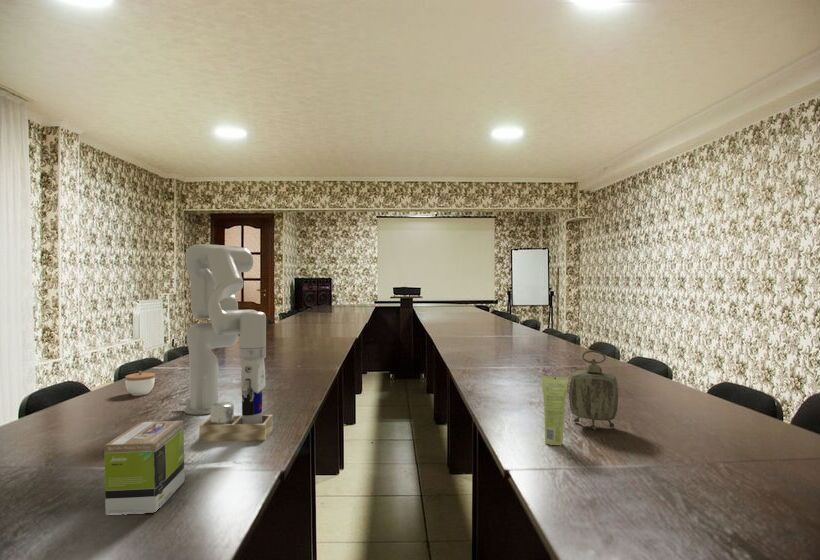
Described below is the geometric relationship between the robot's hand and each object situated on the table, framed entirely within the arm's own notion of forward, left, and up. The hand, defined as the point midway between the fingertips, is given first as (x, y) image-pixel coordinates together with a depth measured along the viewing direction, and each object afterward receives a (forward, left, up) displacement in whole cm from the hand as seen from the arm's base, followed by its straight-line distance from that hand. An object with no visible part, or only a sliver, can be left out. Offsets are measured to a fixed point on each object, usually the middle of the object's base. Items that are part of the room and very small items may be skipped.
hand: (252, 410), depth 137 cm
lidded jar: (-60, +57, -9) cm, 83 cm away
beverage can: (0, 0, -7) cm, 8 cm away
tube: (+89, -10, -8) cm, 90 cm away
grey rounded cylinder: (-9, 0, -7) cm, 11 cm away
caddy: (-4, 0, -8) cm, 9 cm away
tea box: (-12, -37, -9) cm, 40 cm away
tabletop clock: (+107, +3, -8) cm, 107 cm away
